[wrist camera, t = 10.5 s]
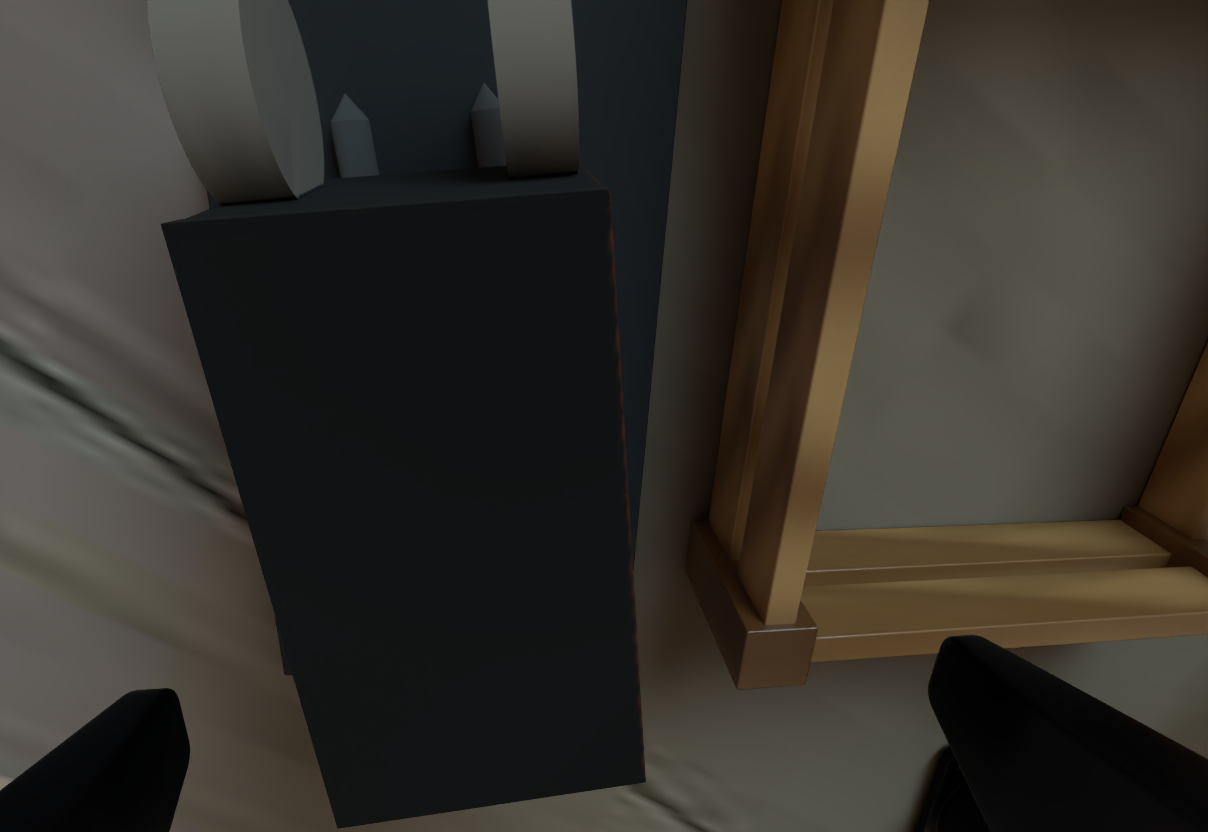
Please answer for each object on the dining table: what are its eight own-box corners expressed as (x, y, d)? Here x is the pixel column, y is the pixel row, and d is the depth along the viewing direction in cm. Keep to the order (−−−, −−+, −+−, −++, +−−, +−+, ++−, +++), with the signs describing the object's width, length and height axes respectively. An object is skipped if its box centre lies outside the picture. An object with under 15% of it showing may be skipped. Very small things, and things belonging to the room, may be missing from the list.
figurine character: (241, 29, 15) (381, 630, 19) (6, -127, 8) (315, 881, 12) (555, 6, 16) (617, 590, 20) (609, -155, 8) (684, 806, 13)
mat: (623, 644, 22) (625, 653, 22) (287, 665, 20) (283, 675, 20) (695, -135, 14) (701, -142, 14) (150, -206, 12) (141, -216, 12)
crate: (1150, 549, 24) (1296, 647, 20) (684, 571, 21) (736, 691, 17) (1491, -214, 16) (1872, -333, 11) (803, -342, 13) (963, -564, 9)
